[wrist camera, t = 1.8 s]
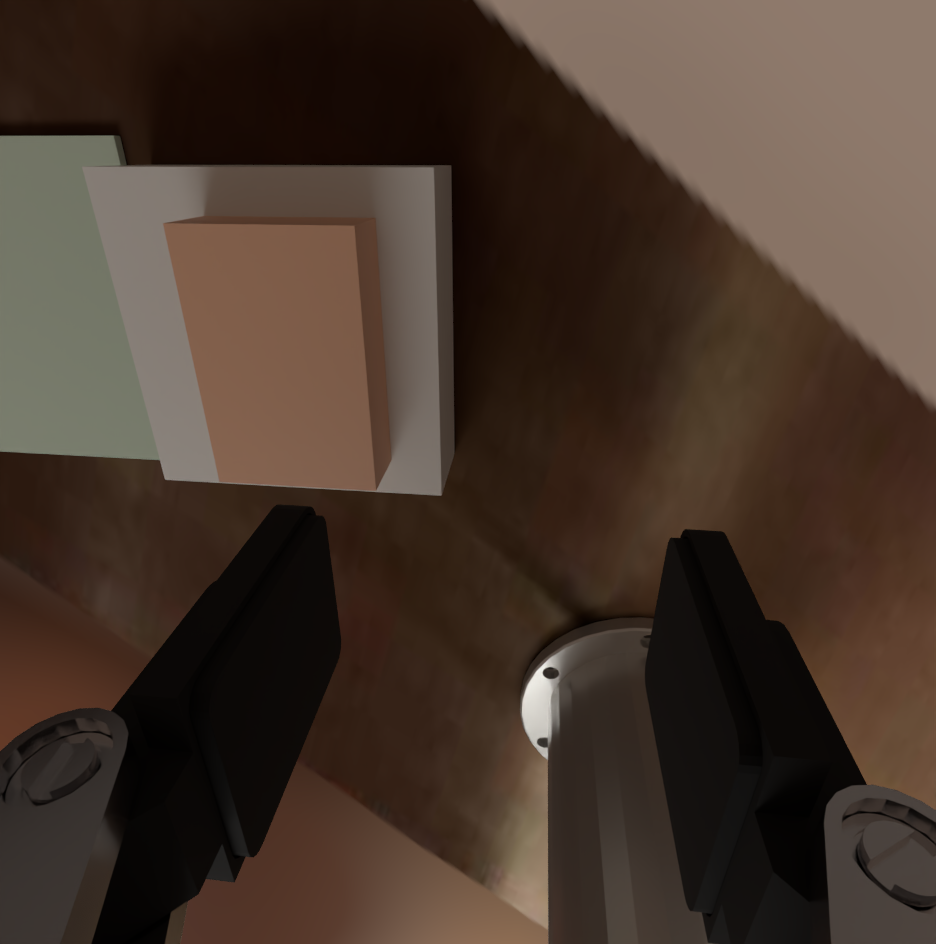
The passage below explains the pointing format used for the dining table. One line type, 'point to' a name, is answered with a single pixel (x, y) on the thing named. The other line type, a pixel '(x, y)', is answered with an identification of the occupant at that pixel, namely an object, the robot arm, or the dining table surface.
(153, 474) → the dining table surface
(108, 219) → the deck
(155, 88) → the dining table surface
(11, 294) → the mat
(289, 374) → the salmon rectangular block
